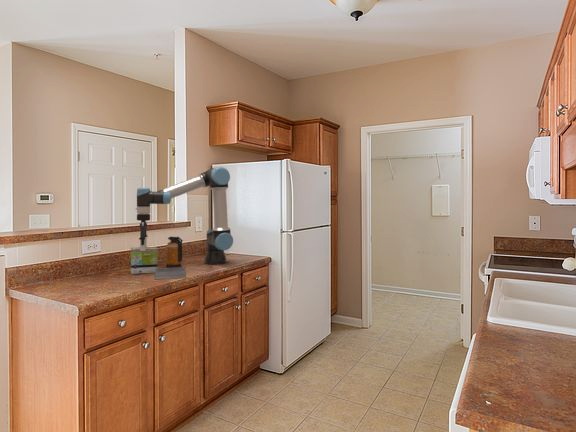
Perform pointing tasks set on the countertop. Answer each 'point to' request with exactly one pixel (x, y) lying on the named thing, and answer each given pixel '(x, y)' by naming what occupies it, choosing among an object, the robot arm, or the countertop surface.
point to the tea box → (144, 260)
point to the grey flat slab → (170, 273)
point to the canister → (174, 252)
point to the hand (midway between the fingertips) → (143, 249)
